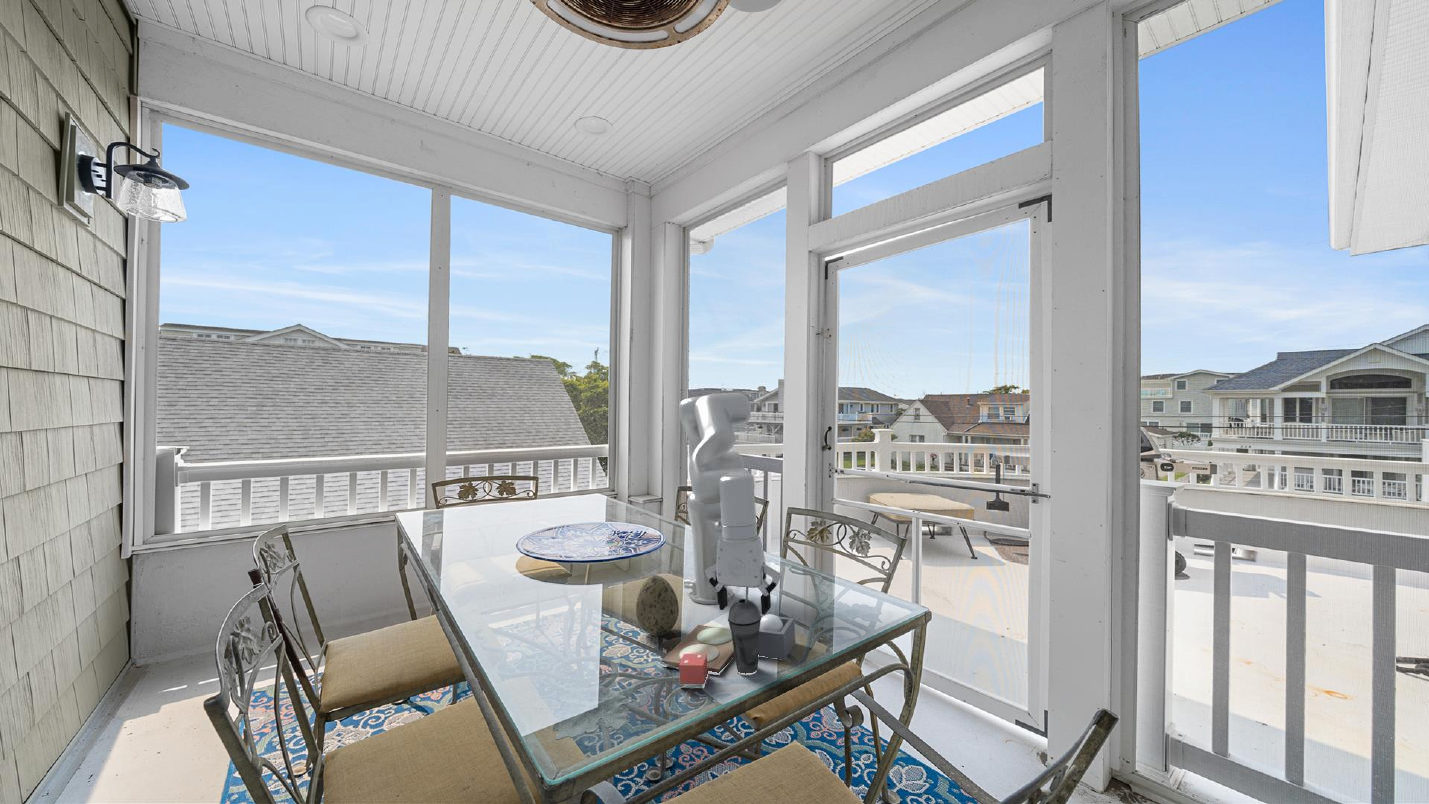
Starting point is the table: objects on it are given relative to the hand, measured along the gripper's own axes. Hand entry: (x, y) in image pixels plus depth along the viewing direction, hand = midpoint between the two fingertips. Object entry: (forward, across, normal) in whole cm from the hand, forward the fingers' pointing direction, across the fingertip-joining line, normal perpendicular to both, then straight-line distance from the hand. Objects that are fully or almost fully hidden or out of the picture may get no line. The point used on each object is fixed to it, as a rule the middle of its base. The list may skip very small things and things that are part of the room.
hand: (744, 610), depth 126 cm
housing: (+13, +2, +12) cm, 18 cm away
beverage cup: (+14, 0, +1) cm, 14 cm away
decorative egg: (+13, -28, +12) cm, 33 cm away
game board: (+13, -12, +6) cm, 19 cm away
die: (+14, -9, -7) cm, 18 cm away
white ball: (+11, +2, +12) cm, 16 cm away
